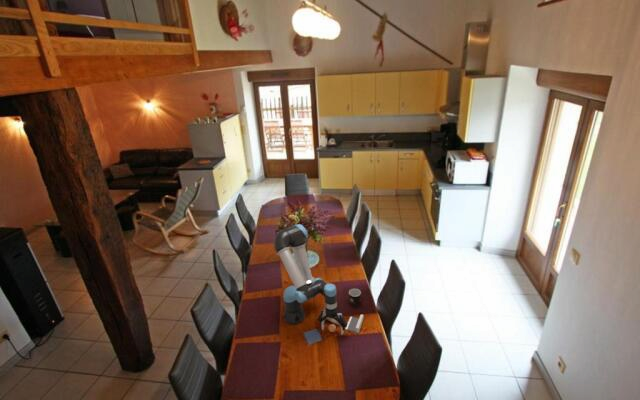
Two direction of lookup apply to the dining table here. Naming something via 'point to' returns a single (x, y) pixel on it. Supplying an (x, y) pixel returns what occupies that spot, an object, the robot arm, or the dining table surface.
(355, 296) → the coffee mug
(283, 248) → the robot arm
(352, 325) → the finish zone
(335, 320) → the ramp
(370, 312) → the dining table surface
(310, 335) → the woven mat
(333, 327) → the ball
